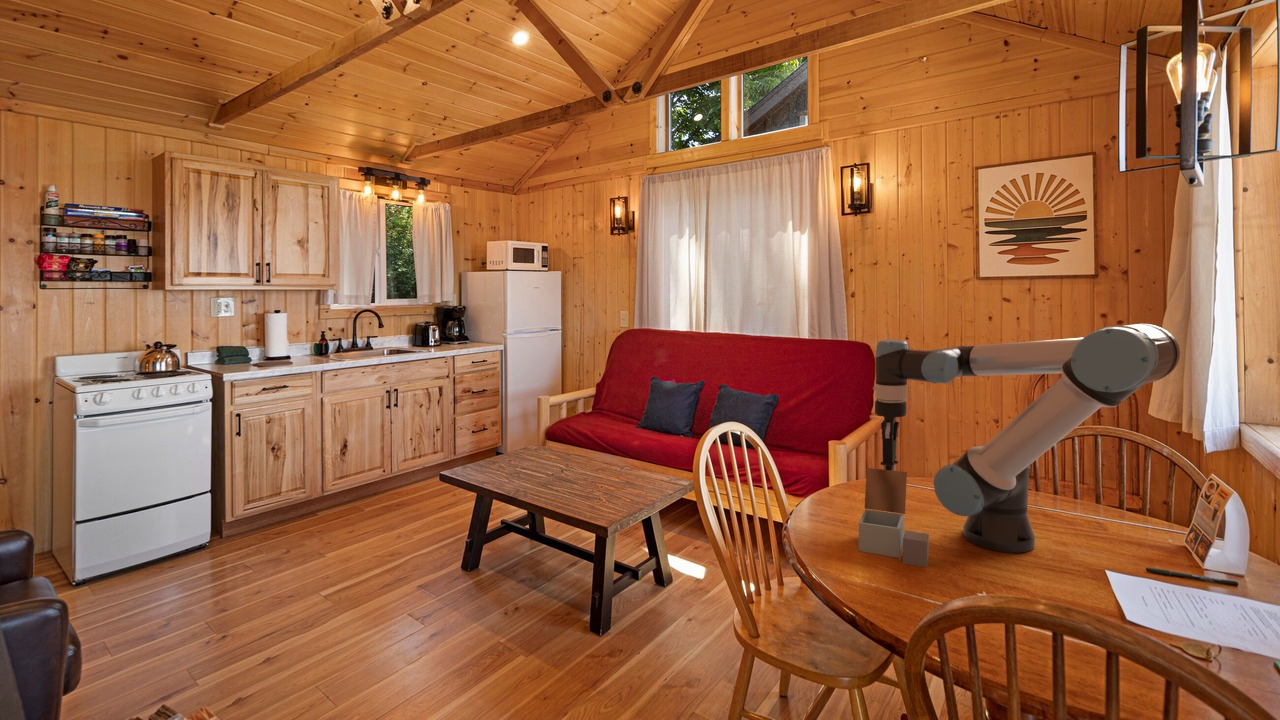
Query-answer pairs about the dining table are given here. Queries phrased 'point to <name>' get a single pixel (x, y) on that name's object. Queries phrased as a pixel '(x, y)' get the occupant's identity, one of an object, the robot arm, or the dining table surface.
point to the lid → (885, 490)
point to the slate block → (915, 548)
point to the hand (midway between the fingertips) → (888, 488)
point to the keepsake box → (881, 533)
